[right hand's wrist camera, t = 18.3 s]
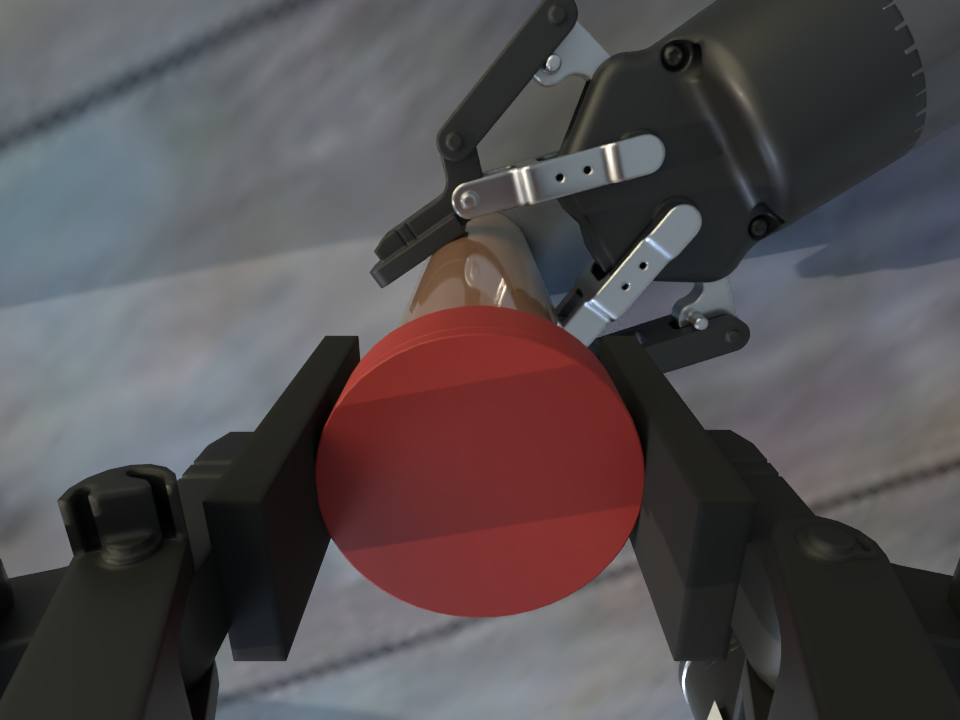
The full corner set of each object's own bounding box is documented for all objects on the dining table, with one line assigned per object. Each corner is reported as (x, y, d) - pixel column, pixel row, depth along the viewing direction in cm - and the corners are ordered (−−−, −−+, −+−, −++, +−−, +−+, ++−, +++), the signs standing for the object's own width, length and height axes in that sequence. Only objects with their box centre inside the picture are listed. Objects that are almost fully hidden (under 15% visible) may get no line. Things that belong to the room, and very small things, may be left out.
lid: (473, 603, 13) (472, 665, 12) (275, 436, 12) (244, 483, 10) (682, 450, 12) (712, 497, 10) (488, 238, 10) (490, 258, 9)
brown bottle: (503, 190, 27) (545, 301, 10) (546, 282, 28) (647, 518, 11) (412, 237, 28) (300, 417, 10) (458, 324, 29) (427, 605, 12)
